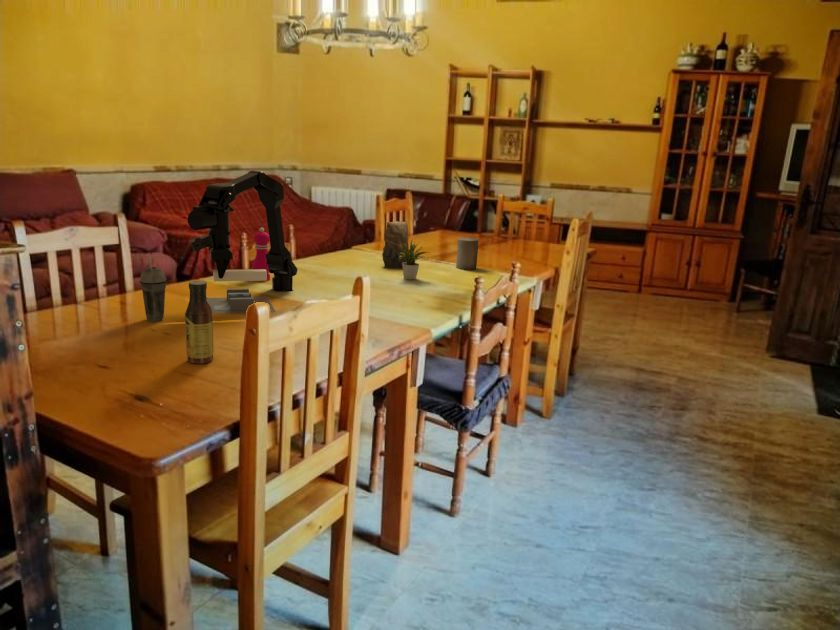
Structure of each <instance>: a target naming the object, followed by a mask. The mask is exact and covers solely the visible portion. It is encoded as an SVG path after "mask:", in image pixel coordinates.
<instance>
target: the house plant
mask: <svg viewBox="0 0 840 630" xmlns="http://www.w3.org/2000/svg"><path fill="white" fill-rule="evenodd" d="M420 243H421V241H418V242H417V244H416V242H413V240H412V239H411V240H410V244H409V246H410V247H409V249H408V247H407V245H405V243H404V245H405V248H406V251H407V253H406V251H405V249H404V247H403V246H401V245H400V247H401V249H402V248H403V249H402V250H403V251H404V253H405V254H404V253H403V252H401V253H400V254H402V255H404V258H403V259H405V260H406V262H404V263H402V266H403V269H402V273H403V280H407V279H415V280H416V279H417V276H418V271H419V267H420V263H417V261H418V260H419V259H424V260H426V259H427V257H426V255H424V254H426V253H430V251H420V250H422V249H425V248H426V247H425V246H426V244H423V245H422V246H420V247H419V248H418V249H417V250H416V248H417V246H418V245H419V244H420ZM395 245H397V244H395ZM415 250H416V251H415ZM419 251H420V252H419ZM399 257H403V256H399ZM400 259H401V258H400Z"/></svg>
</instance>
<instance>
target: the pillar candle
mask: <svg viewBox="0 0 840 630" xmlns="http://www.w3.org/2000/svg"><path fill="white" fill-rule="evenodd" d="M479 241H480V240H479V239H478V238H475V237H470V236H468V237H457V248H456V260H455V261H456V264H455V268H457V269H458V268H459V270H463V269H465V270H464V271H471V270H473V271H474V269H475V270H477V269H476V268H477V264H478V253H479Z"/></svg>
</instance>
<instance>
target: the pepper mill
mask: <svg viewBox="0 0 840 630" xmlns="http://www.w3.org/2000/svg"><path fill="white" fill-rule="evenodd" d="M253 241H254V243H255V244H254V248H255V250H256V251H255V252H256V254H255V258H254V260H253V262H252V266H251V267H252V268H251V269H266V271H267V281H270V280H271V273H270V272H269V268H268V265H267V264H266V262H267V261H266V254H267V253H268V249H270V248H269V243H270V239H269V232H266V231H265V228H264V227H260V228H259V231H257V232H256V233H255V234H254V235H253Z"/></svg>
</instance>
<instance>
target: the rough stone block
mask: <svg viewBox="0 0 840 630" xmlns="http://www.w3.org/2000/svg"><path fill="white" fill-rule="evenodd" d="M408 235H409V230H408V222H407V221H399V220H394V221H391V222H390V221H387V222H386V227H385V230H384V235H383V240H384V247H383V248H382V254H381V257H382V261H383V267H384V268H388V269H391V268H392V269H401V270H403V266H402V263H404V262H406V260H405V259H403V258H404V255H402V254H400V253H401V252H403V253H404V251H403V250H402V249H403V248H402V249H401V247H400V245H401V246H403V247H404V249H405V251H406V248H405V245H407V247H408V249H410V247H409V246H410V245H409V236H408ZM404 243H405V245H404ZM395 244H397V245H395ZM406 253H407V251H406ZM404 254H405V253H404ZM399 256H403V257H399ZM400 258H401V259H400Z"/></svg>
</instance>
